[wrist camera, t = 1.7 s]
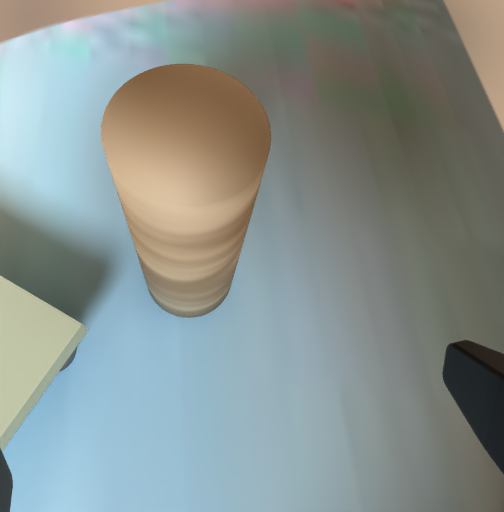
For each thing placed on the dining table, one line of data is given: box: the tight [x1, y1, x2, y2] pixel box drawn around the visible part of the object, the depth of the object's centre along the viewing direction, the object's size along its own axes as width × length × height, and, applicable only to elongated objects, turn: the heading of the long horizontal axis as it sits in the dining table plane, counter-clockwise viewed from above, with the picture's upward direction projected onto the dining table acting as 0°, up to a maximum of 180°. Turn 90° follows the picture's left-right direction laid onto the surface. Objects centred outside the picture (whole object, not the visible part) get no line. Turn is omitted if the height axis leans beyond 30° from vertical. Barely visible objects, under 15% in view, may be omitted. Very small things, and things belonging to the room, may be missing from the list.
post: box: [101, 64, 271, 318], centre depth 17 cm, size 4×4×12 cm
